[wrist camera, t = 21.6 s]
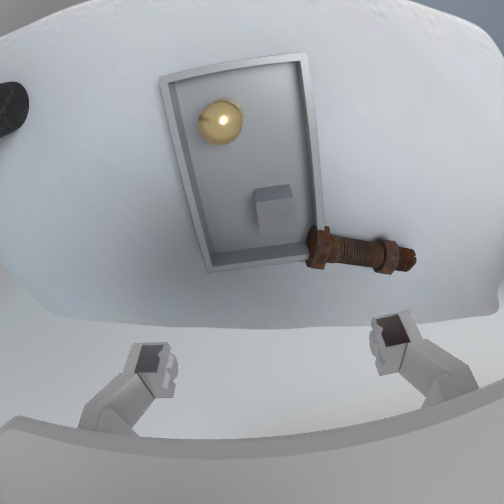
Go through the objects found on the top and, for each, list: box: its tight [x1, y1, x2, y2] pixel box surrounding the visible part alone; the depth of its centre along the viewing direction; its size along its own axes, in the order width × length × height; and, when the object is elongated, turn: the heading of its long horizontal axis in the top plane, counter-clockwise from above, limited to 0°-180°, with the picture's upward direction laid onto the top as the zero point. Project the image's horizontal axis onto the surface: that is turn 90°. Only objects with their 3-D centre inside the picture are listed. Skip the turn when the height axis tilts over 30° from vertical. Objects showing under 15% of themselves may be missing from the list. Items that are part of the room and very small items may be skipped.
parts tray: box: [159, 53, 325, 273], centre depth 34 cm, size 15×24×4 cm, turn 9°
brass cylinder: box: [198, 98, 244, 145], centre depth 29 cm, size 4×4×6 cm
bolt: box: [305, 225, 416, 275], centre depth 39 cm, size 6×5×15 cm
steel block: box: [255, 184, 297, 235], centre depth 36 cm, size 4×4×4 cm
